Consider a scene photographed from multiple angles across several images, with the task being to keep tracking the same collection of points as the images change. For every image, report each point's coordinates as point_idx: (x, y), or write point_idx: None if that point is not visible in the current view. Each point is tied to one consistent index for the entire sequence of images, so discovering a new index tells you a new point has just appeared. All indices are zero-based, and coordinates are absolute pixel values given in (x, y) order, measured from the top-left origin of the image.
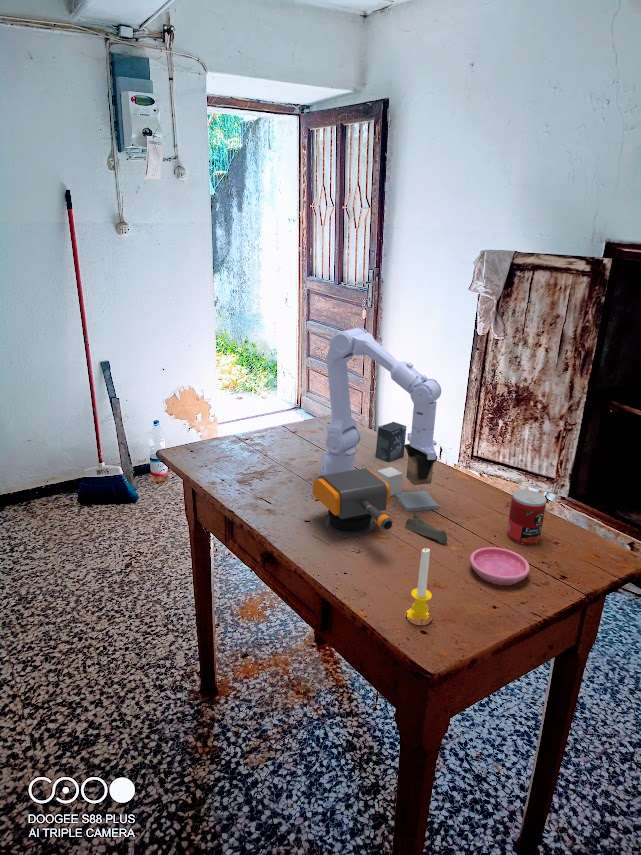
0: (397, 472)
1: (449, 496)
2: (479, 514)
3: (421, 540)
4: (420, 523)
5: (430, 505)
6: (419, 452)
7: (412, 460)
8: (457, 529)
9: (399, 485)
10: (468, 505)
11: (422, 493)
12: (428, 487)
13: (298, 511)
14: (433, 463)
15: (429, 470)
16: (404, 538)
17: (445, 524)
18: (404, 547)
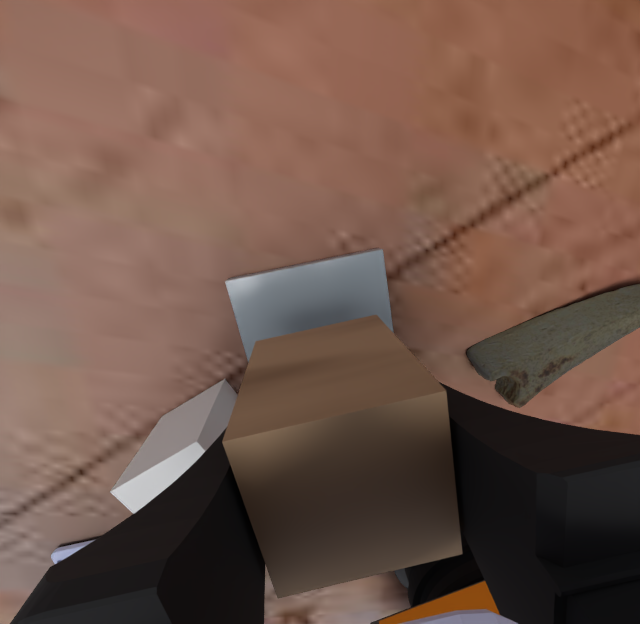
0: (187, 466)
1: (245, 154)
2: (445, 43)
3: (597, 359)
4: (564, 369)
5: (381, 287)
6: (227, 547)
7: (374, 572)
8: (557, 207)
9: (225, 410)
10: (346, 73)
11: (257, 300)
12: (147, 244)
13: None
14: (551, 424)
15: (462, 397)
16: (572, 409)
17: (511, 248)
18: (621, 415)
